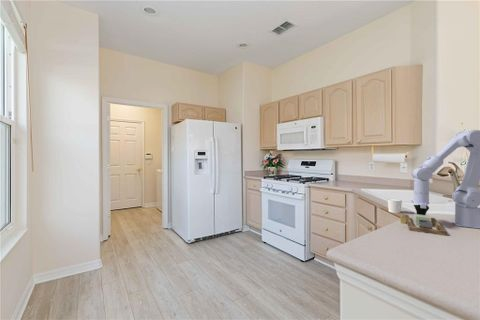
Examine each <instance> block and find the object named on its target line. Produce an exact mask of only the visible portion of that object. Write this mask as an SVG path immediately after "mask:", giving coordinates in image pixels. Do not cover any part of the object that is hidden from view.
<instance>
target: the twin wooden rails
mask: <svg viewBox="0 0 480 320" xmlns="http://www.w3.org/2000/svg"><path fill="white" fill-rule="evenodd" d="M405 218H406V225H407V227H408V230H409V231H411V232H417V233H426V234H433V235H440V236H447V231H446V230H445V229H444V228H443V226H441V224H440V223H439V222H438V220H437V219H436V218H435V217H430V221H431V222H432V226H434V227H435V229H433V228H432V229H428V228H420V227H419V226H414V224H413V223H412V220H411V218H410V216H409V214H405Z"/></svg>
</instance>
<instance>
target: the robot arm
mask: <svg viewBox="0 0 480 320" xmlns="http://www.w3.org/2000/svg"><path fill="white" fill-rule="evenodd" d="M462 147H463V148H464V149H466V150H467V151H469V156H468V159H467V164H466V166H465V170H464V174H463V177H462V181H461V183H460V185H458V186H457V187H456V190H455V191H454V192H453V193H452V194H451V195H452V196H451V198H452V201H453V202H454V207H455V208H454V220H452V221H451V222H452V223H453V224H454V225H455V226H457V227H463V228H465V227H467V228H473V229H480V207H479V206H480V189H479V188H478V187H479V183H480V130H479V129H473V130H466V131H459V132H458V133H456V134H455V135H454V136H452V137H451V139H449V141H448V142H447V144H445V145H444V146H443V148H441V149H440V150H439V151H438V153H436V155H431V156H427V157H426V160H425V161H424V162H423V163H422V164H420V165H419V166H418V167H417V168H415V169H413V171H412V173H411V177H413V199H412V200H410V202H411V203H414V204H413V207H414V209H415V211H416V214H419V215H427V212H428V211H429V209H430V206H429V204H430V179H432V178H433V173H435V172H436V171H437V170H438V169H439V168H440V167H442V165H443V164H444V160H445V159H446V158H447V157H448V156H450V155H451V154H452V153H453V152H455V151H456V150H457V149H458V148H462Z"/></svg>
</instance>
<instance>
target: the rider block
mask: <svg viewBox="0 0 480 320" xmlns="http://www.w3.org/2000/svg"><path fill="white" fill-rule="evenodd" d="M419 220H427V221H431V217H430V216H429V214H428V215H427V214H426V215H419V214H417V213H415V214H414V223H415V225H416V226H419Z"/></svg>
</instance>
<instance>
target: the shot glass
mask: <svg viewBox="0 0 480 320" xmlns="http://www.w3.org/2000/svg"><path fill="white" fill-rule="evenodd" d="M402 202H403V201H402V200H401V199H396V198H388V199H387V207H388V212H389V213H392V214H401V210H402V204H403V203H402Z"/></svg>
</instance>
